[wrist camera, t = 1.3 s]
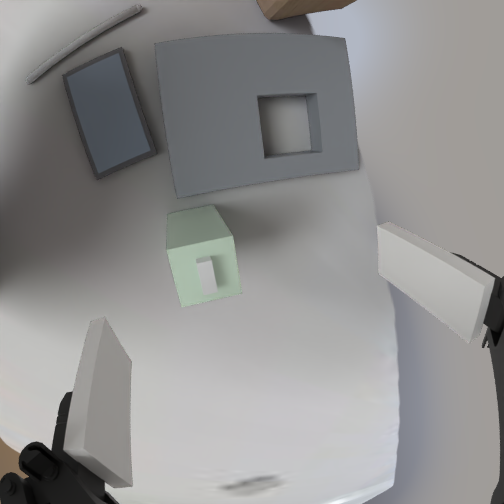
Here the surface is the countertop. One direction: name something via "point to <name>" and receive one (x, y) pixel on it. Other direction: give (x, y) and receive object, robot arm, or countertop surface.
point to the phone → (108, 113)
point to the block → (298, 7)
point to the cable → (82, 41)
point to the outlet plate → (252, 107)
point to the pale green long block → (201, 256)
